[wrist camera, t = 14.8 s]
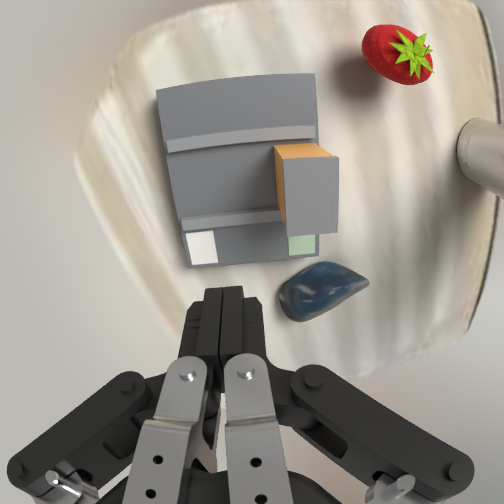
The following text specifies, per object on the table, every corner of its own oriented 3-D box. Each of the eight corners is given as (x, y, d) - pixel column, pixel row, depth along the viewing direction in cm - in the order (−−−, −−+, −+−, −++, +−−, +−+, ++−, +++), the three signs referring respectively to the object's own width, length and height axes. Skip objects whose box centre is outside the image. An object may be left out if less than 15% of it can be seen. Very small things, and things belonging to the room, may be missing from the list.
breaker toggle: (315, 142, 27) (339, 157, 20) (316, 200, 30) (337, 232, 23) (272, 144, 27) (283, 160, 20) (276, 204, 30) (286, 237, 23)
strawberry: (352, 23, 22) (395, 1, 14) (408, 53, 24) (462, 48, 15) (337, 66, 25) (377, 57, 17) (395, 94, 27) (448, 101, 18)
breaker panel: (307, 75, 26) (316, 73, 23) (313, 243, 36) (320, 259, 33) (163, 90, 26) (153, 90, 23) (192, 255, 36) (188, 272, 33)
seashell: (268, 314, 38) (335, 350, 34) (291, 252, 35) (368, 289, 31) (285, 298, 43) (345, 328, 40) (307, 243, 40) (373, 274, 37)
